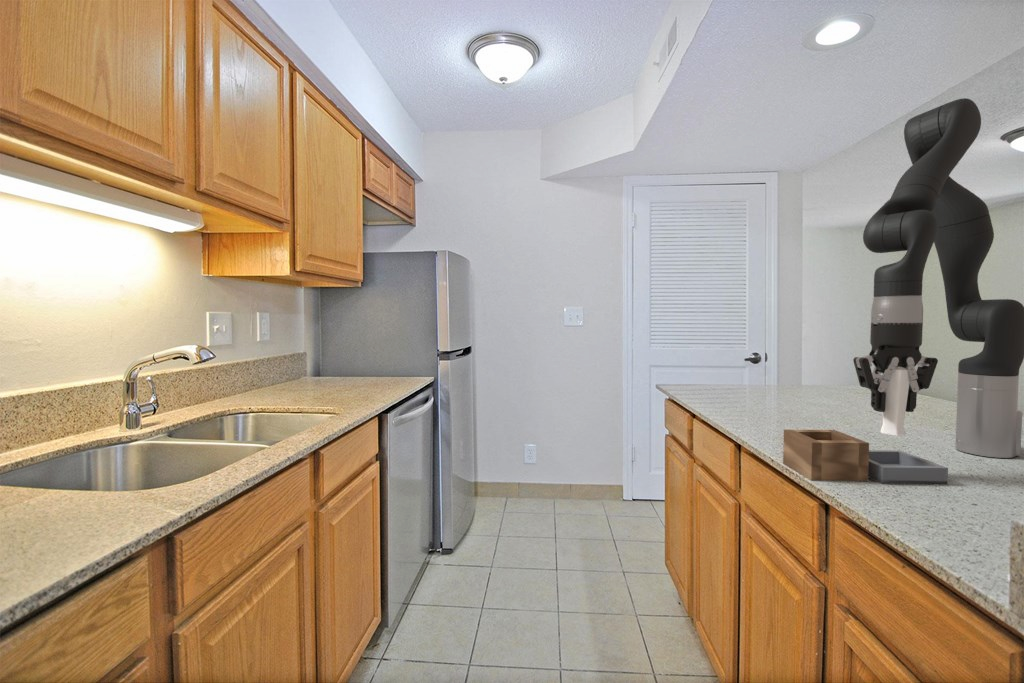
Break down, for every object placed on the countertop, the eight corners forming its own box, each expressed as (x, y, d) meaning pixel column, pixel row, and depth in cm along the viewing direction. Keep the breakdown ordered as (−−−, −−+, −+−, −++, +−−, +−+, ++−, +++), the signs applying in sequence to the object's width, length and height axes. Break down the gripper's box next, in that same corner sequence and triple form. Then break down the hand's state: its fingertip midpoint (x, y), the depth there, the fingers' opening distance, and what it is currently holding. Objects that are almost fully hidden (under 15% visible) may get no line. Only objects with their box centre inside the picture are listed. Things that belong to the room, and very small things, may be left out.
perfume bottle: (883, 435, 87) (886, 355, 86) (873, 429, 91) (875, 353, 90) (913, 437, 86) (916, 355, 85) (901, 431, 90) (904, 353, 89)
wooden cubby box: (833, 463, 95) (834, 429, 95) (868, 480, 85) (869, 443, 85) (783, 463, 96) (783, 429, 95) (811, 480, 86) (812, 442, 85)
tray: (899, 465, 94) (900, 450, 94) (947, 484, 83) (948, 468, 83) (843, 464, 95) (843, 450, 94) (882, 483, 84) (883, 467, 83)
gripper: (920, 320, 91) (916, 407, 92) (843, 320, 92) (840, 407, 92) (954, 320, 83) (950, 415, 84) (870, 321, 84) (867, 415, 85)
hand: (892, 410), depth 88 cm, fingers closed on perfume bottle, 4 cm apart
